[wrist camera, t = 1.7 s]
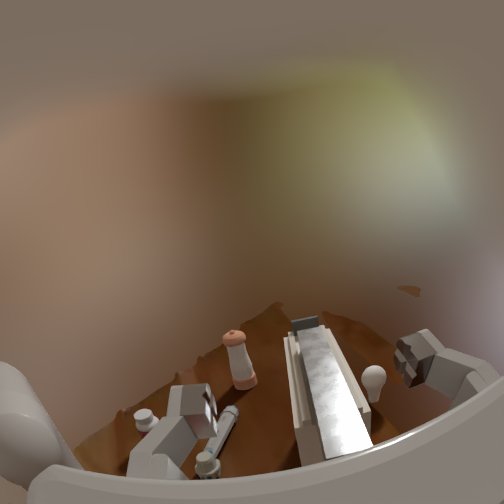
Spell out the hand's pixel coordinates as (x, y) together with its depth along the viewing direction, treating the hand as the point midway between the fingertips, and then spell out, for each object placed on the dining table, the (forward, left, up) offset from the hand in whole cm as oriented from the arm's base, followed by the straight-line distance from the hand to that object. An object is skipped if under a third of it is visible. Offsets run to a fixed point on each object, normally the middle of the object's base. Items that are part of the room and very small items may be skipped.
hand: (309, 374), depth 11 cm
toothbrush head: (+26, +35, -43) cm, 62 cm away
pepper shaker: (+53, +43, -43) cm, 81 cm away
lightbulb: (+48, +3, -43) cm, 65 cm away
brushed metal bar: (+19, +6, -17) cm, 26 cm away
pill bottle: (+19, +50, -43) cm, 69 cm away
